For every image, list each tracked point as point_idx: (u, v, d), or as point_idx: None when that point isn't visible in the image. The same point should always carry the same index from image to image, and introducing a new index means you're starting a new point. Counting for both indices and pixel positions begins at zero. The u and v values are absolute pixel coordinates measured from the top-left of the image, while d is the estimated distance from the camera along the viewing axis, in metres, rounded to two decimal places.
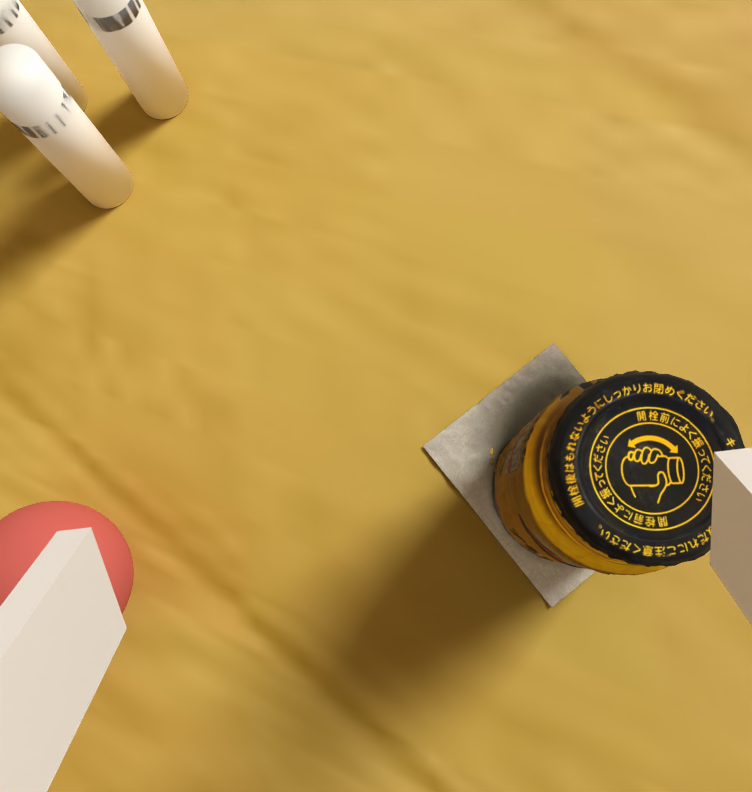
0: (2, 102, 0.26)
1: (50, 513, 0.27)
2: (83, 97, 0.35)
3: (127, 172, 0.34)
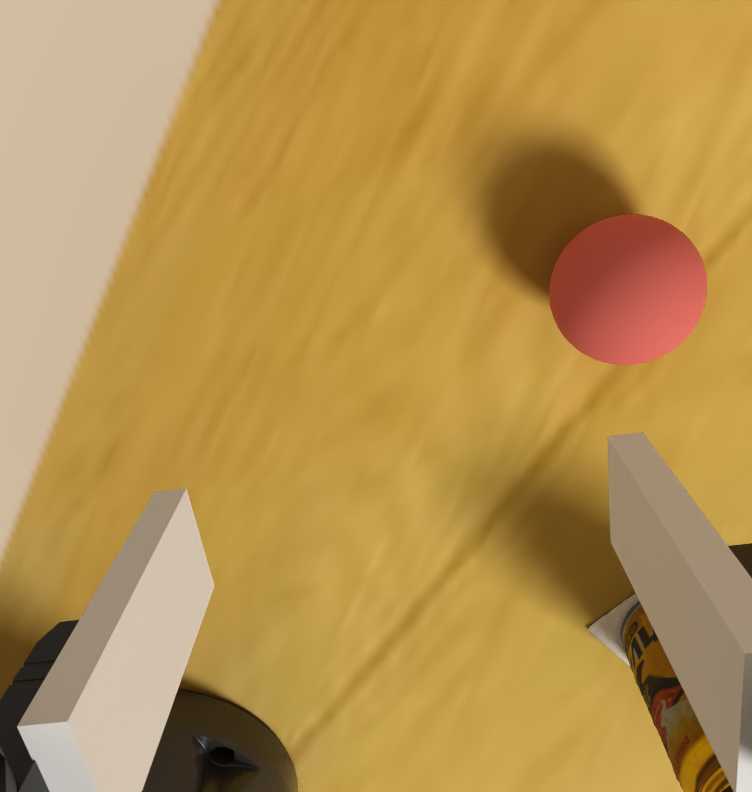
0: None
1: (703, 306, 0.28)
2: None
3: None
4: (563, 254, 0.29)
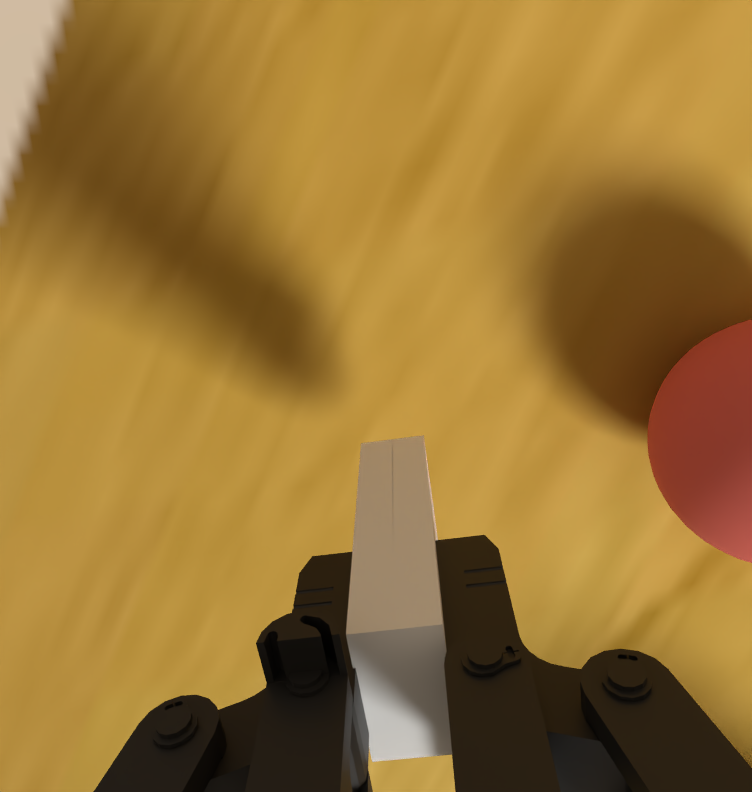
0: None
1: None
2: None
3: None
4: (679, 382, 0.17)
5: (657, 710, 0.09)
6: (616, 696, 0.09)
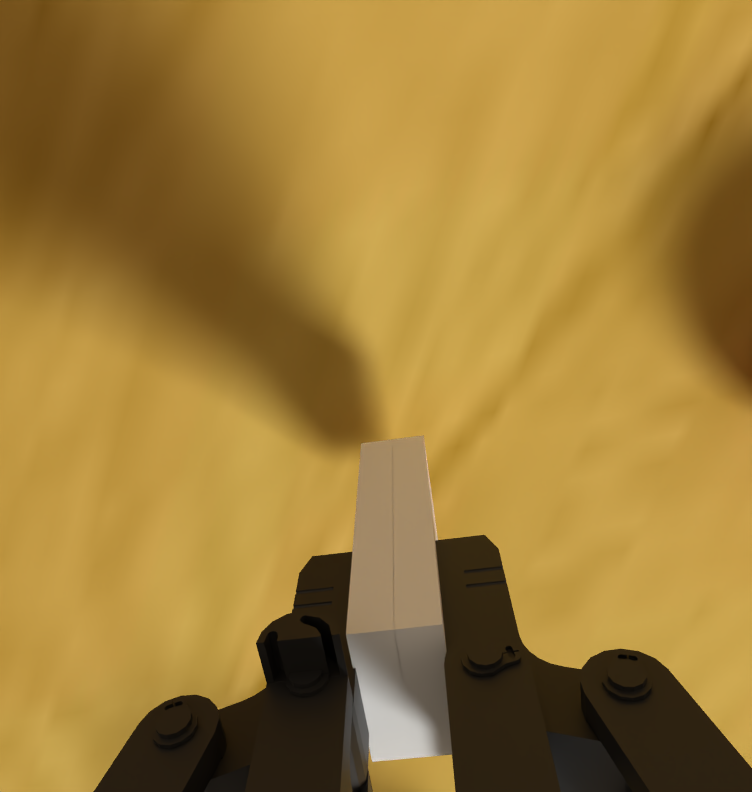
0: None
1: None
2: None
3: None
4: None
5: (657, 710, 0.09)
6: (616, 696, 0.09)
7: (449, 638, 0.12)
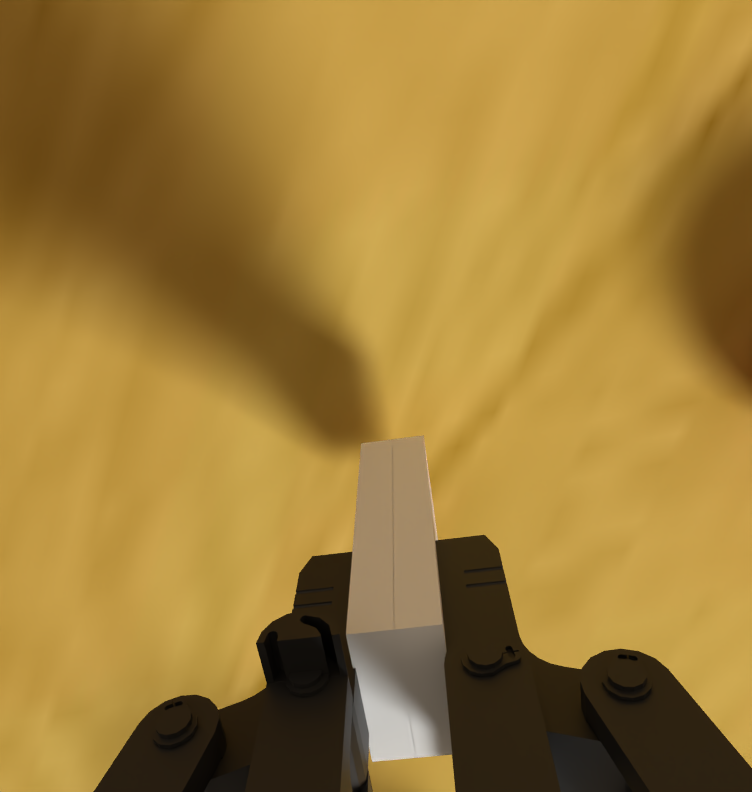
0: None
1: None
2: None
3: None
4: None
5: (657, 710, 0.09)
6: (616, 696, 0.09)
7: (449, 638, 0.12)
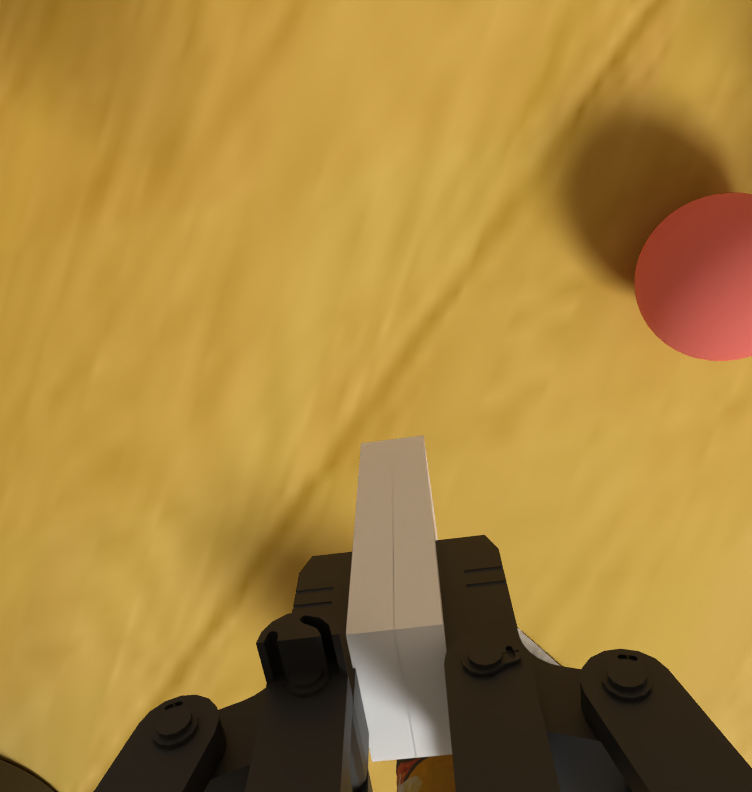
0: None
1: (704, 313, 0.24)
2: None
3: None
4: None
5: (657, 710, 0.09)
6: (616, 696, 0.09)
7: (449, 638, 0.12)
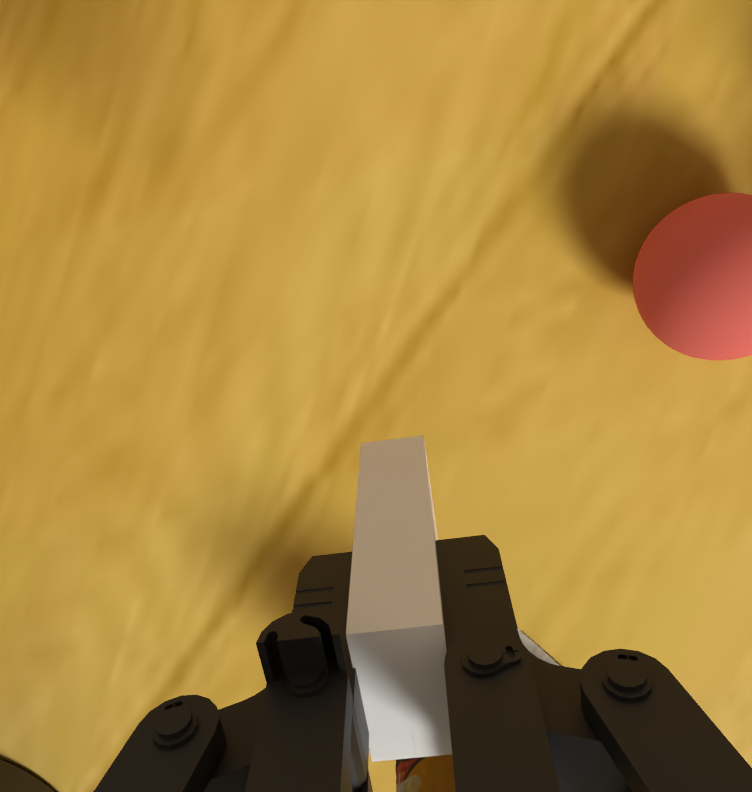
0: None
1: (702, 313, 0.24)
2: None
3: None
4: None
5: (657, 710, 0.09)
6: (616, 696, 0.09)
7: (449, 638, 0.12)
